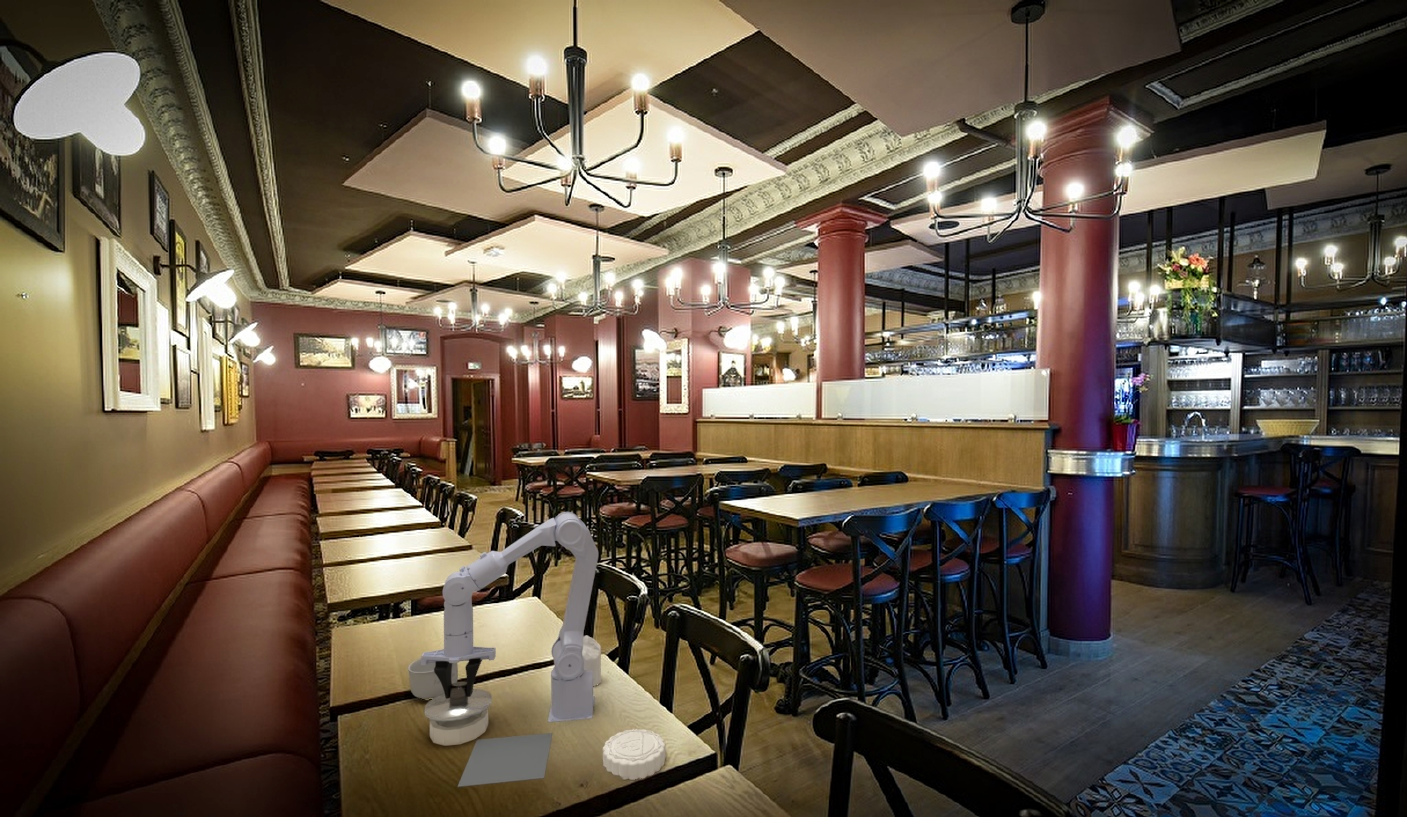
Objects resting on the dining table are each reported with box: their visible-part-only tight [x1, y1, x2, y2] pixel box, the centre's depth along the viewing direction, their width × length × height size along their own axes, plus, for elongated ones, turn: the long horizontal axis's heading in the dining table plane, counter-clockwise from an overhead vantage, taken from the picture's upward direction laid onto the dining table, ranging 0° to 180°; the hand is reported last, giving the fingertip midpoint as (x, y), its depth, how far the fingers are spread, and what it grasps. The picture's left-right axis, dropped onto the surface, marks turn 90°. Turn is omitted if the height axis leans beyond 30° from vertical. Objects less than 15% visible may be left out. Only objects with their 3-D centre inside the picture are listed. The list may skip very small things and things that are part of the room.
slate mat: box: [457, 732, 554, 788], centre depth 113 cm, size 15×15×1 cm
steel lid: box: [424, 681, 493, 721], centre depth 123 cm, size 13×13×4 cm
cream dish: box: [429, 708, 489, 747], centre depth 123 cm, size 11×11×4 cm
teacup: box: [407, 657, 459, 700], centre depth 141 cm, size 14×11×8 cm
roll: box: [582, 635, 602, 687], centre depth 145 cm, size 6×12×6 cm
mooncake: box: [602, 728, 666, 781], centre depth 112 cm, size 12×12×4 cm
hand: (459, 695), depth 123 cm, fingers closed on steel lid, 4 cm apart
